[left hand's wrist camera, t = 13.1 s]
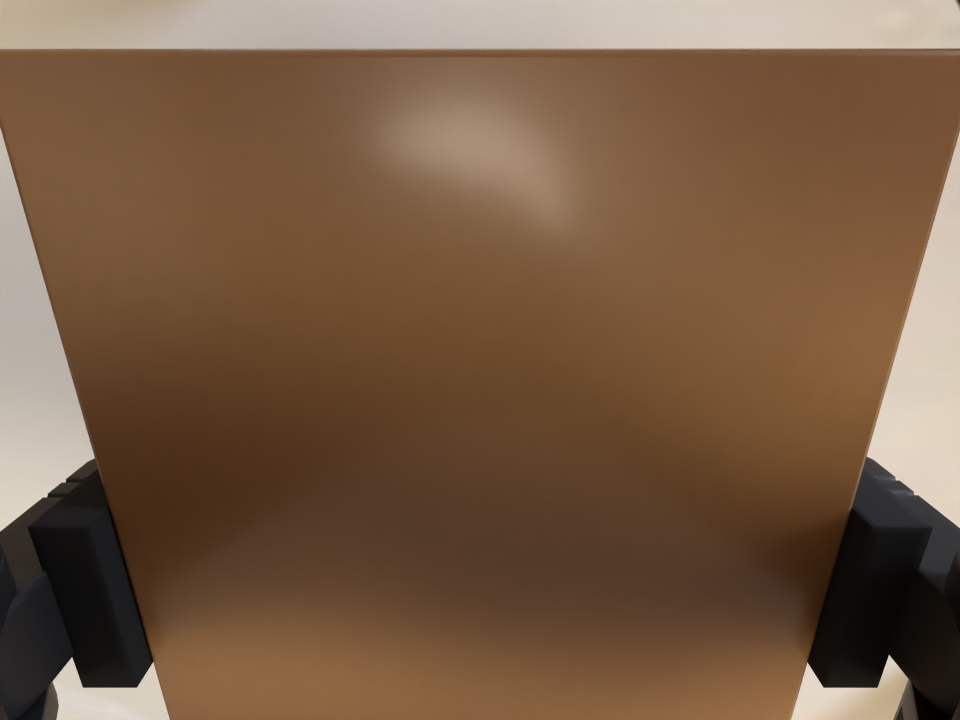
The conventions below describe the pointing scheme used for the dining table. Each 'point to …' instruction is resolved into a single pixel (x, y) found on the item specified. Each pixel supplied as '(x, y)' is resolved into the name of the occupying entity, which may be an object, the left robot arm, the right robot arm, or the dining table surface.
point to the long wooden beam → (480, 358)
